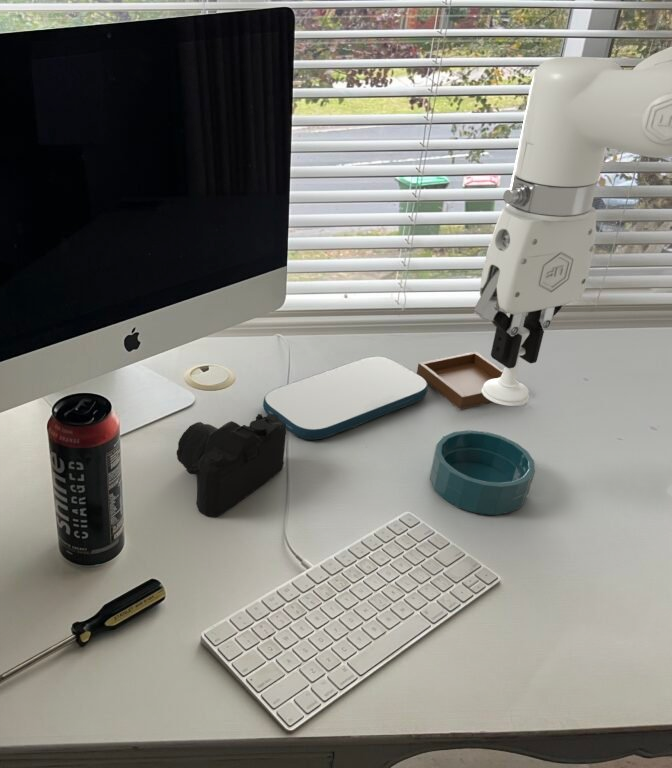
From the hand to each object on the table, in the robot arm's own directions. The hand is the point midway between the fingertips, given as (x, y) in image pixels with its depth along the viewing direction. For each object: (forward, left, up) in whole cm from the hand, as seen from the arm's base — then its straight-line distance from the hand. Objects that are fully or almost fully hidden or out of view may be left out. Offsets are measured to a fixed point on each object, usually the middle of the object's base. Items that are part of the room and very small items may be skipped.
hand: (513, 358), depth 87 cm
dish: (+1, 0, -18) cm, 18 cm away
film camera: (+29, -12, -18) cm, 36 cm away
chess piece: (0, 0, -5) cm, 5 cm away
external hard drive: (+6, -22, -18) cm, 29 cm away
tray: (-13, -20, -18) cm, 30 cm away
